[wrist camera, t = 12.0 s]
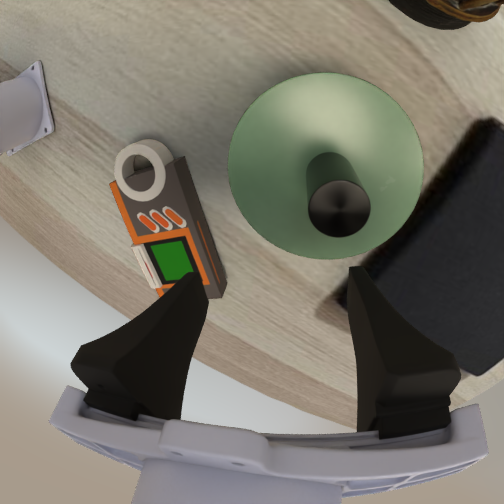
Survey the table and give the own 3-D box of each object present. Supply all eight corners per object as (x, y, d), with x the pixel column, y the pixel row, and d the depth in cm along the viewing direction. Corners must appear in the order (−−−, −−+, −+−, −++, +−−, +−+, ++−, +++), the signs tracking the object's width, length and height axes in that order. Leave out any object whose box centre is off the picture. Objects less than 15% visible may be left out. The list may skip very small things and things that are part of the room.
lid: (248, 252, 18) (232, 311, 14) (216, 85, 13) (178, 90, 9) (408, 244, 16) (435, 302, 12) (414, 75, 11) (465, 80, 6)
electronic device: (161, 133, 18) (222, 303, 25) (177, 126, 20) (229, 283, 28) (93, 160, 20) (158, 307, 27) (113, 151, 22) (169, 288, 29)
